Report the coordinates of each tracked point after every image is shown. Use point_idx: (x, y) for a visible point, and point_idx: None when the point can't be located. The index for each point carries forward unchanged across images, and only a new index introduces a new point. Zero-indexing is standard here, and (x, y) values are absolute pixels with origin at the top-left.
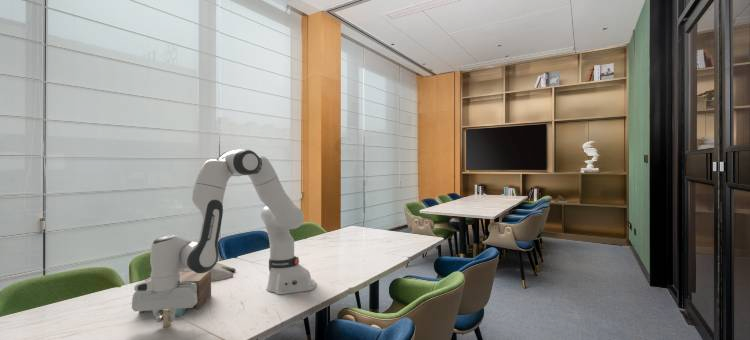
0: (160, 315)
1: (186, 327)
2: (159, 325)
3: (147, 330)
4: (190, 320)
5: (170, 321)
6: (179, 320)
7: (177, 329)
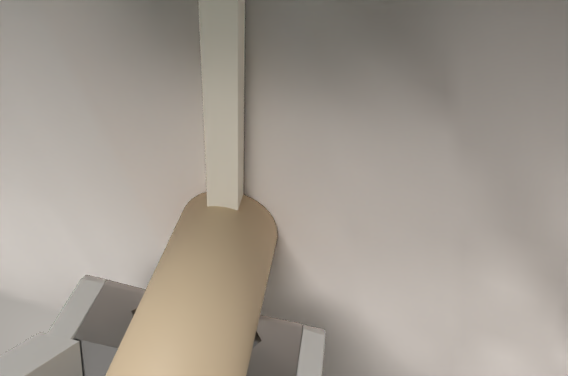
0: (79, 350)
1: (484, 359)
2: (119, 184)
3: (41, 259)
4: (555, 195)
5: (265, 283)
6: (376, 125)
7: (383, 360)
